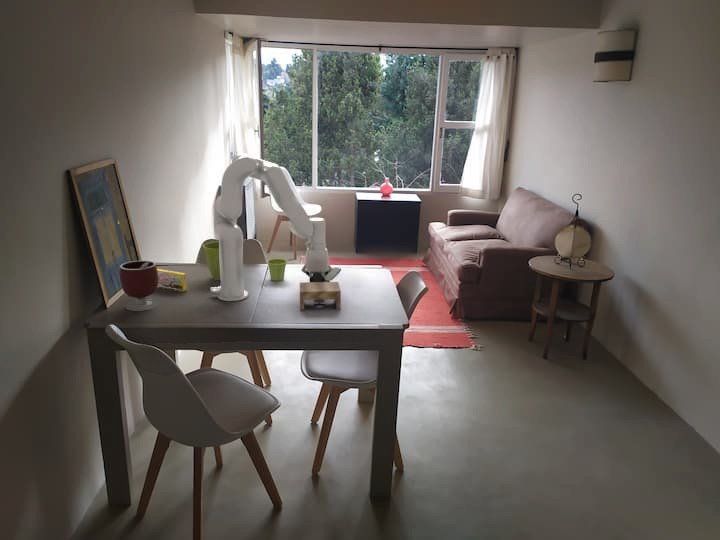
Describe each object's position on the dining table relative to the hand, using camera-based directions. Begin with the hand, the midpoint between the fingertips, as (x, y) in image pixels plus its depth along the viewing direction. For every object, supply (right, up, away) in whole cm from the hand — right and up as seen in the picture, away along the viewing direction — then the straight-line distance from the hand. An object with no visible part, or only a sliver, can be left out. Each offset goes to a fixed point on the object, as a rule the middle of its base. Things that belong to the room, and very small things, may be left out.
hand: (317, 284), depth 243 cm
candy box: (-64, -2, -7) cm, 64 cm away
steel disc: (+3, -8, -24) cm, 26 cm away
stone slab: (+3, +4, +19) cm, 20 cm away
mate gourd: (-67, -8, -29) cm, 73 cm away
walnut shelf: (+3, -8, -23) cm, 25 cm away
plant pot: (-19, +2, +10) cm, 22 cm away
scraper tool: (+1, -3, -8) cm, 9 cm away
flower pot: (-46, +3, +10) cm, 47 cm away
